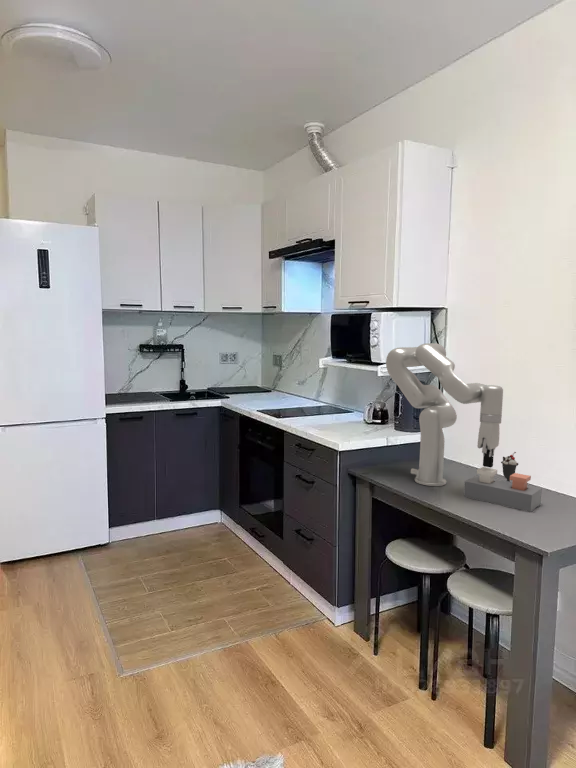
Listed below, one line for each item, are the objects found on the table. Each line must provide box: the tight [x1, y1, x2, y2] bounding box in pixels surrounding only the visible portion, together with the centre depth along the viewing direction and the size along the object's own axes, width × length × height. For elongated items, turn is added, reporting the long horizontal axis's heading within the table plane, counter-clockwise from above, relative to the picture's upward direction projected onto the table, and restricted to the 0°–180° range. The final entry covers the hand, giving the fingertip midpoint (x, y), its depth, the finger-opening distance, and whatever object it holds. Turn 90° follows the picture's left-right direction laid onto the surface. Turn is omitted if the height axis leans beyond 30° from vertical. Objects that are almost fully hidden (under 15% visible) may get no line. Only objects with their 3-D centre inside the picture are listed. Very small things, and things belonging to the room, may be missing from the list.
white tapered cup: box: [476, 466, 498, 484], centre depth 202 cm, size 6×6×8 cm
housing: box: [463, 474, 543, 513], centre depth 198 cm, size 24×12×6 cm, turn 49°
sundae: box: [500, 451, 519, 482], centre depth 215 cm, size 7×7×15 cm
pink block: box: [510, 472, 532, 491], centre depth 194 cm, size 6×6×8 cm
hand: (487, 466), depth 201 cm, fingers closed
